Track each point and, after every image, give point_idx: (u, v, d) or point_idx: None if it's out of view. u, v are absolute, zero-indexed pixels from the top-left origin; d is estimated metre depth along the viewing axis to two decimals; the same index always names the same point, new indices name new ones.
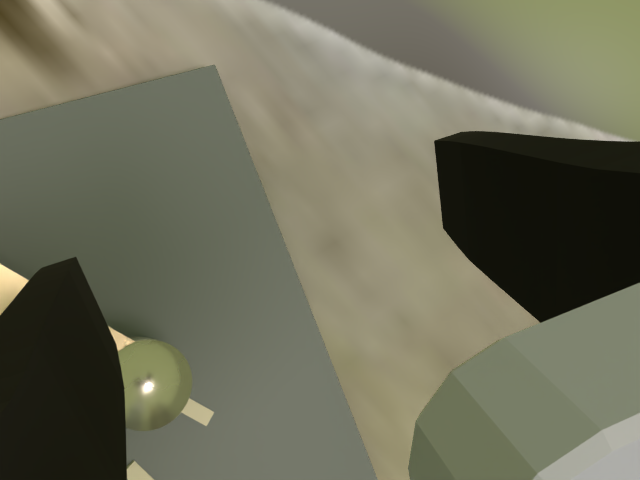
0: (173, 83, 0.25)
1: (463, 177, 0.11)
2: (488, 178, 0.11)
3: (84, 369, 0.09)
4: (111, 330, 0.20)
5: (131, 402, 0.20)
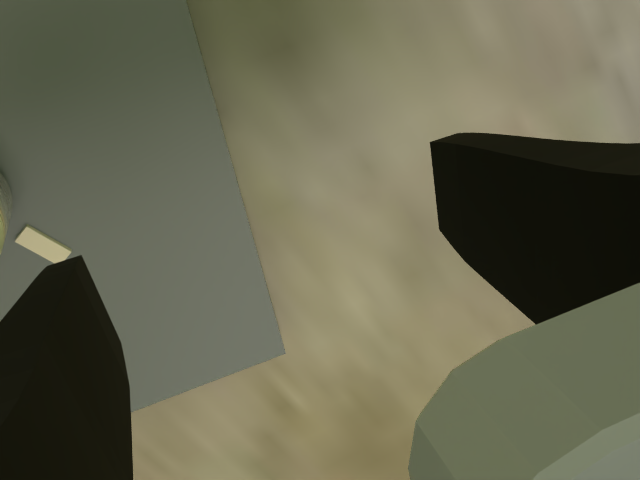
0: None
1: (459, 179, 0.11)
2: (483, 180, 0.11)
3: (91, 366, 0.09)
4: None
5: None
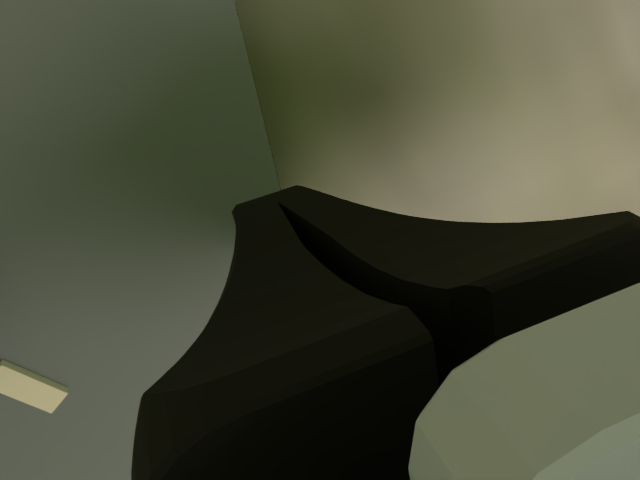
0: None
1: None
2: None
3: None
4: None
5: None
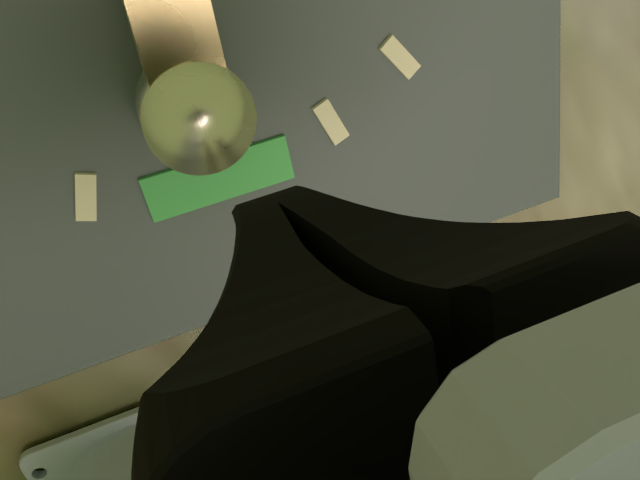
0: None
1: None
2: (300, 243, 0.10)
3: None
4: (216, 34, 0.15)
5: (171, 121, 0.16)
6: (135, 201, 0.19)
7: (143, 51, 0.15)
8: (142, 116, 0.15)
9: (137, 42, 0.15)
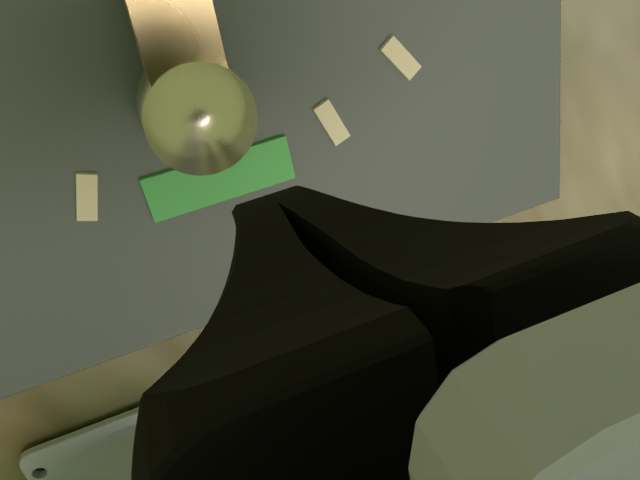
0: None
1: None
2: (300, 243, 0.10)
3: None
4: (217, 34, 0.15)
5: (172, 121, 0.16)
6: (136, 201, 0.19)
7: (144, 51, 0.15)
8: (143, 116, 0.16)
9: (139, 42, 0.15)
